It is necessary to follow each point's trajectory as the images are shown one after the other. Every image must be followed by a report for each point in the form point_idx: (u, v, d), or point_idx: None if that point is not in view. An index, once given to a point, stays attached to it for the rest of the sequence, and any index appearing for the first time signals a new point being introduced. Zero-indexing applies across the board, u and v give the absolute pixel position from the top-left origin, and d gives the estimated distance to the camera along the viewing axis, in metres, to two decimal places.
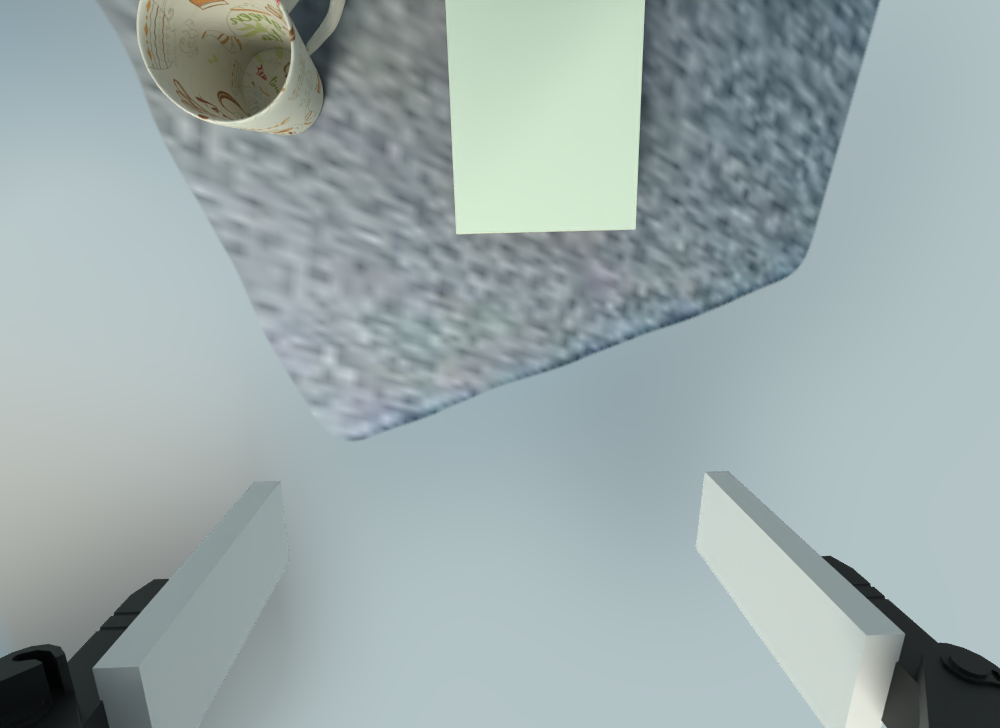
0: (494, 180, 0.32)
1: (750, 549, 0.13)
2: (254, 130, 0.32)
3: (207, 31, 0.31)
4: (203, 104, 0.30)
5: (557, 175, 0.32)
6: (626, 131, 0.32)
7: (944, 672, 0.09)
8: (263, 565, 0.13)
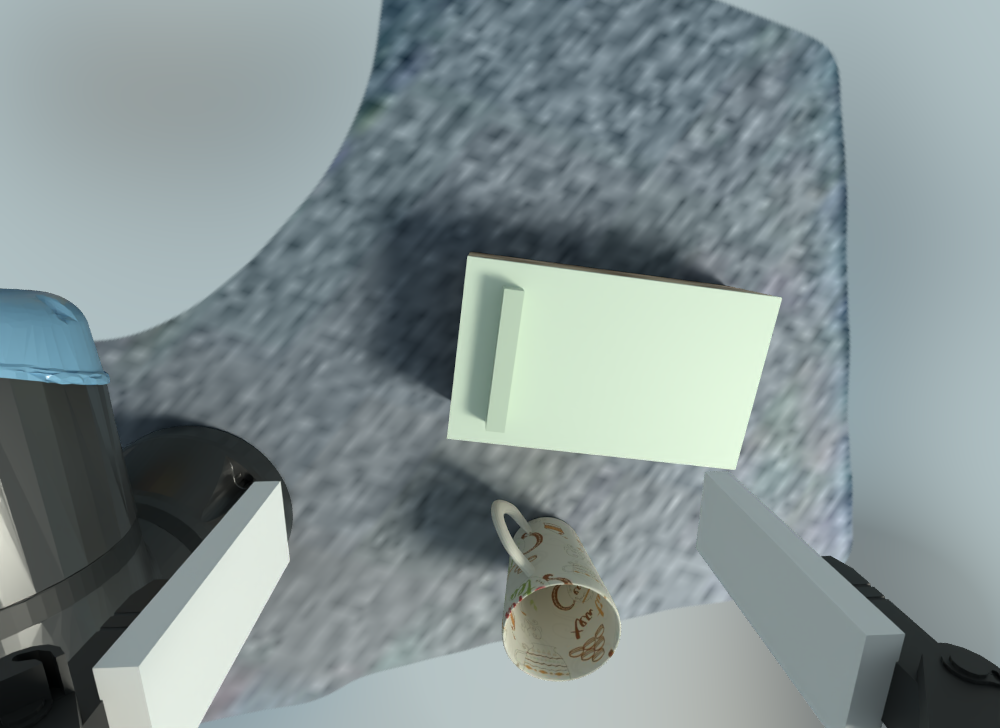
0: (698, 429, 0.34)
1: (750, 549, 0.13)
2: None
3: (521, 610, 0.40)
4: (582, 634, 0.38)
5: (709, 371, 0.33)
6: (686, 298, 0.31)
7: (944, 672, 0.09)
8: (263, 565, 0.13)
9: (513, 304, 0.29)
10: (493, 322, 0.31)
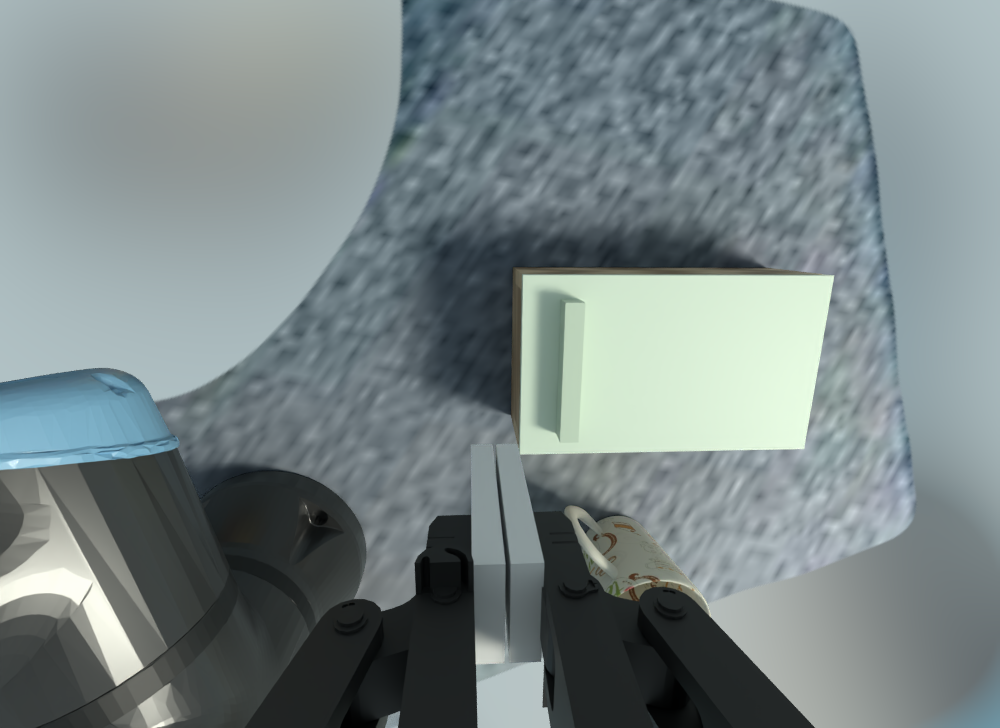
0: (763, 414, 0.34)
1: (500, 507, 0.15)
2: None
3: None
4: None
5: (769, 356, 0.33)
6: (740, 288, 0.32)
7: (562, 599, 0.10)
8: None
9: (575, 317, 0.30)
10: (554, 336, 0.32)
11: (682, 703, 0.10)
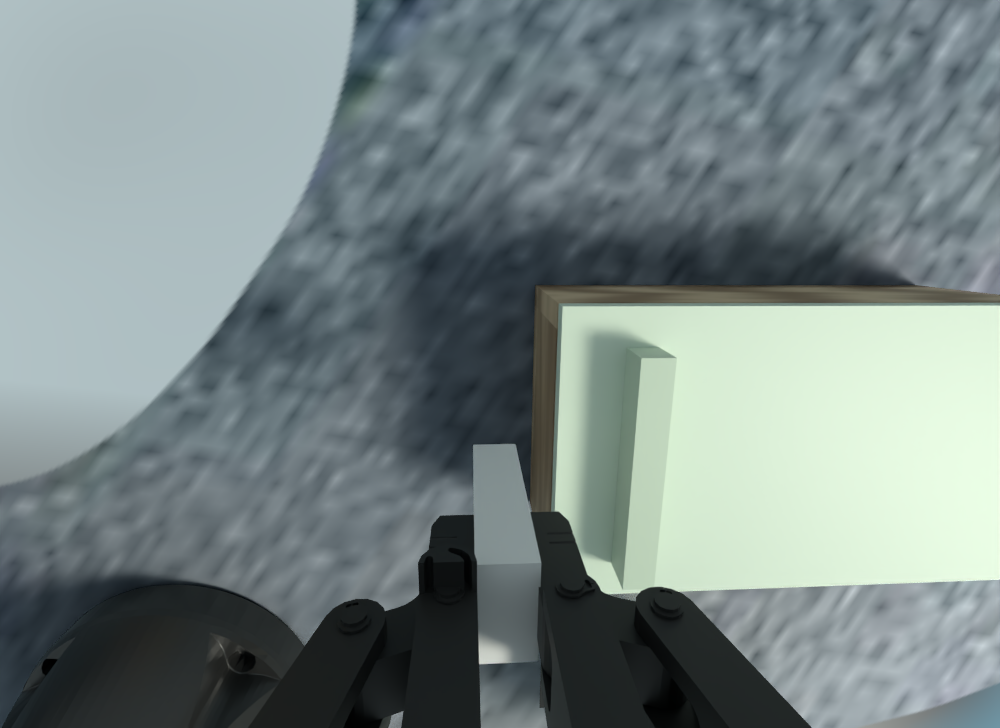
0: (948, 528, 0.21)
1: None
2: None
3: None
4: None
5: (968, 438, 0.20)
6: (932, 328, 0.19)
7: (559, 599, 0.10)
8: None
9: (657, 383, 0.17)
10: (613, 408, 0.19)
11: (679, 703, 0.10)
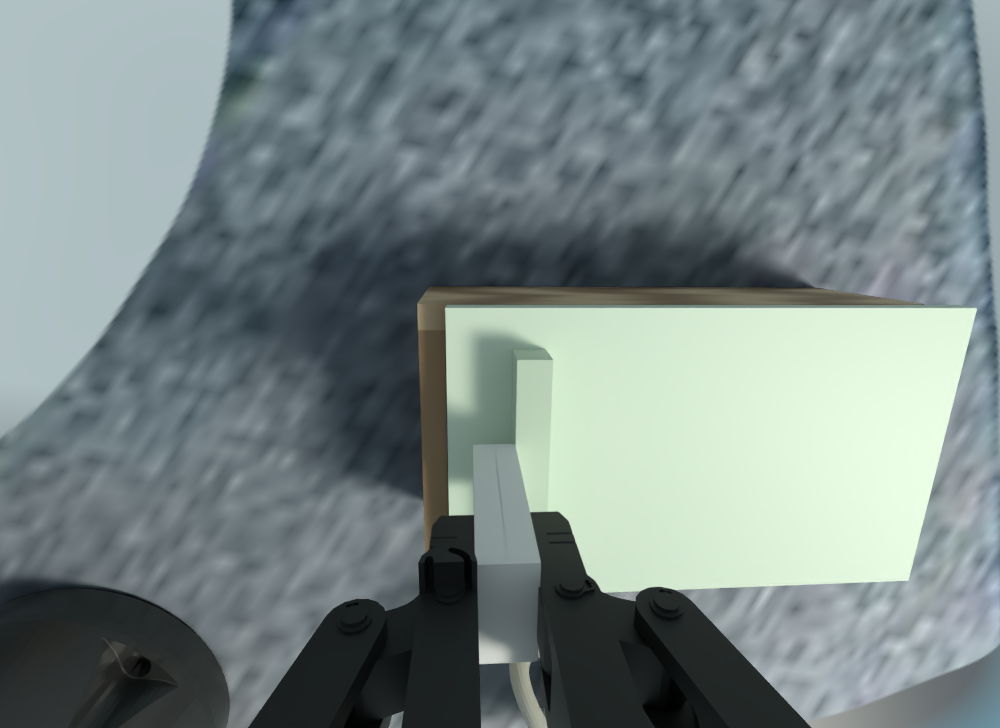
0: (848, 530, 0.21)
1: None
2: None
3: None
4: None
5: (862, 439, 0.20)
6: (820, 330, 0.19)
7: (559, 599, 0.10)
8: None
9: (535, 384, 0.17)
10: (503, 410, 0.19)
11: (678, 703, 0.10)
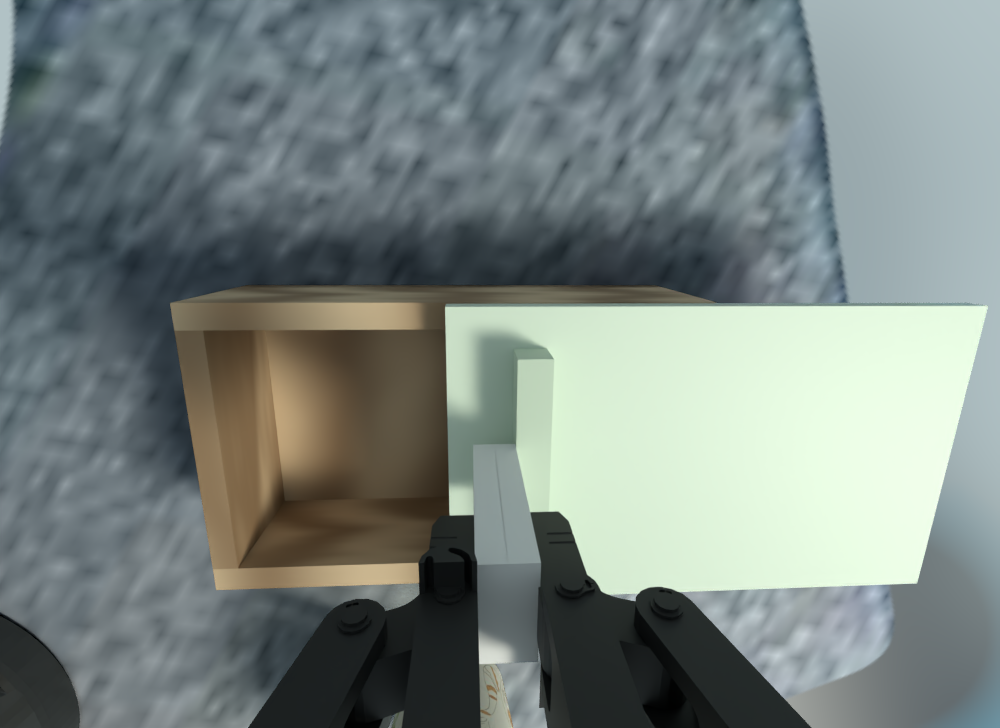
0: (855, 531, 0.21)
1: None
2: None
3: None
4: None
5: (870, 440, 0.20)
6: (826, 329, 0.18)
7: (559, 599, 0.10)
8: None
9: (535, 384, 0.16)
10: (504, 410, 0.18)
11: (678, 703, 0.10)
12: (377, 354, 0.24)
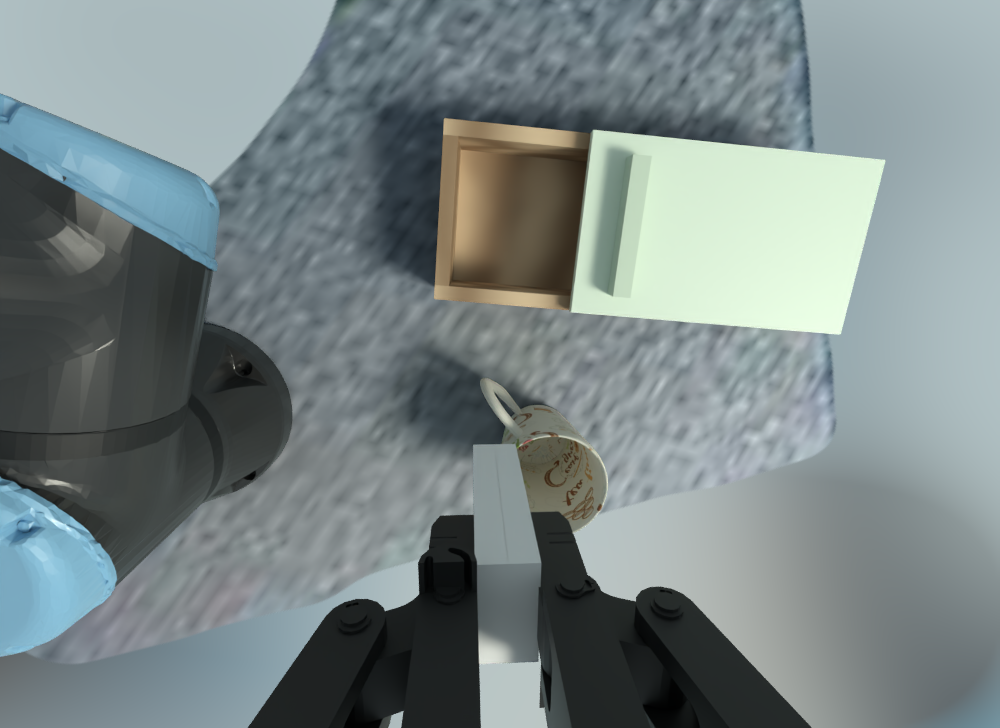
0: (805, 295, 0.36)
1: None
2: None
3: None
4: (573, 501, 0.39)
5: (817, 236, 0.35)
6: (796, 164, 0.33)
7: (559, 599, 0.10)
8: None
9: (640, 169, 0.32)
10: (616, 194, 0.33)
11: (679, 703, 0.10)
12: (525, 186, 0.39)
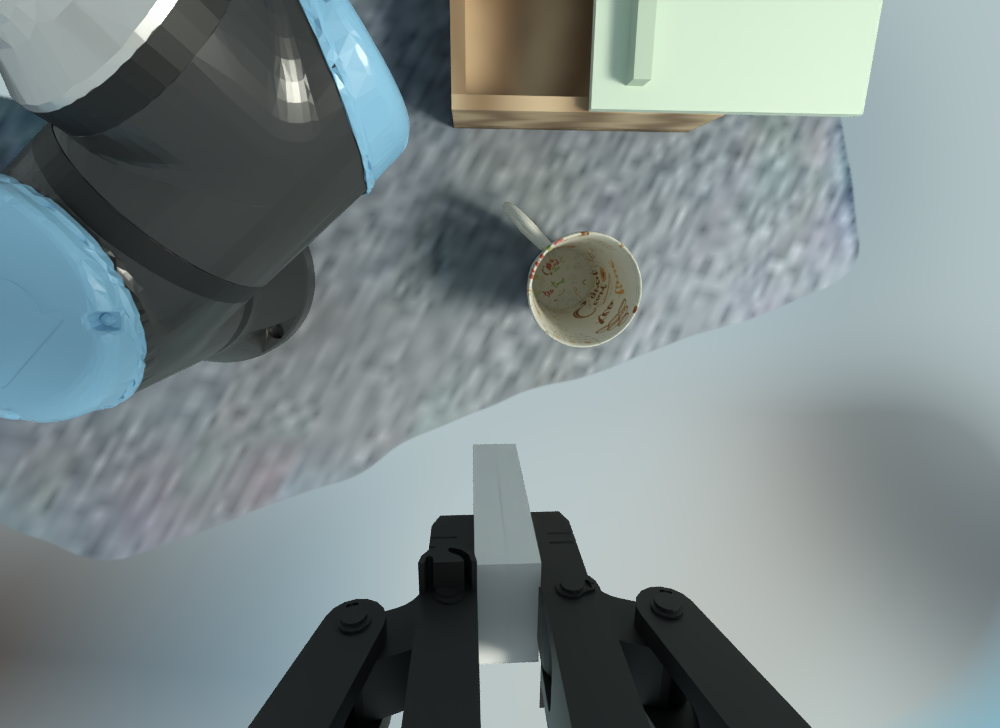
0: (825, 73, 0.35)
1: None
2: None
3: (545, 315, 0.41)
4: (606, 319, 0.39)
5: (833, 7, 0.34)
6: None
7: (559, 599, 0.10)
8: None
9: None
10: None
11: (679, 703, 0.10)
12: (531, 4, 0.39)
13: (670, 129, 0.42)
